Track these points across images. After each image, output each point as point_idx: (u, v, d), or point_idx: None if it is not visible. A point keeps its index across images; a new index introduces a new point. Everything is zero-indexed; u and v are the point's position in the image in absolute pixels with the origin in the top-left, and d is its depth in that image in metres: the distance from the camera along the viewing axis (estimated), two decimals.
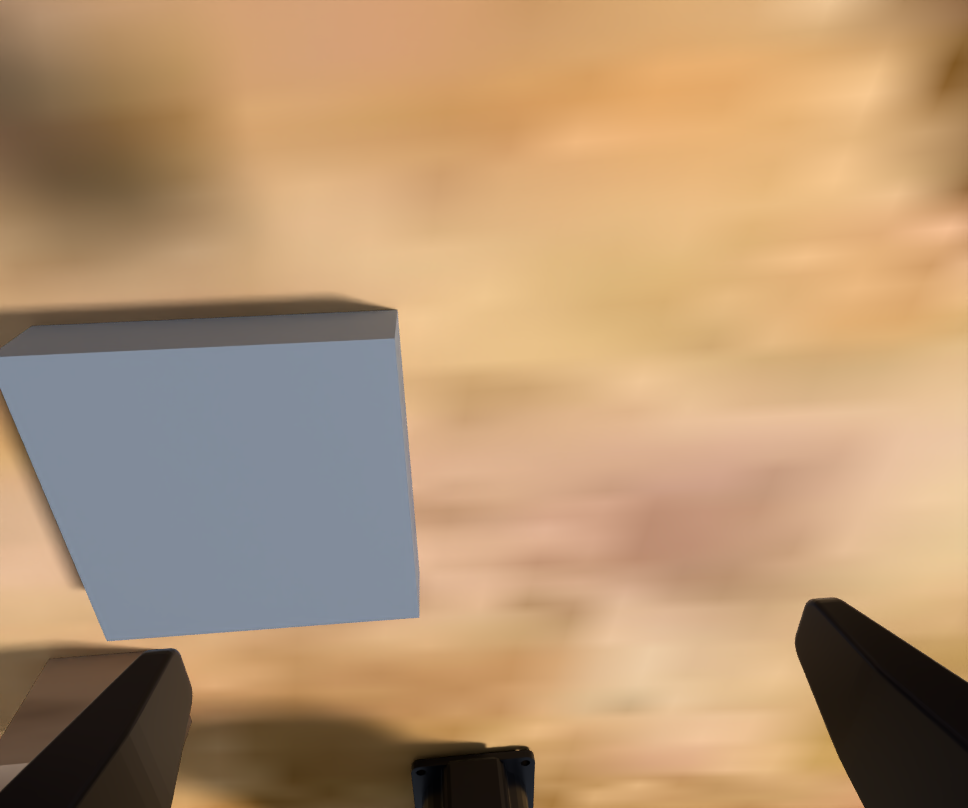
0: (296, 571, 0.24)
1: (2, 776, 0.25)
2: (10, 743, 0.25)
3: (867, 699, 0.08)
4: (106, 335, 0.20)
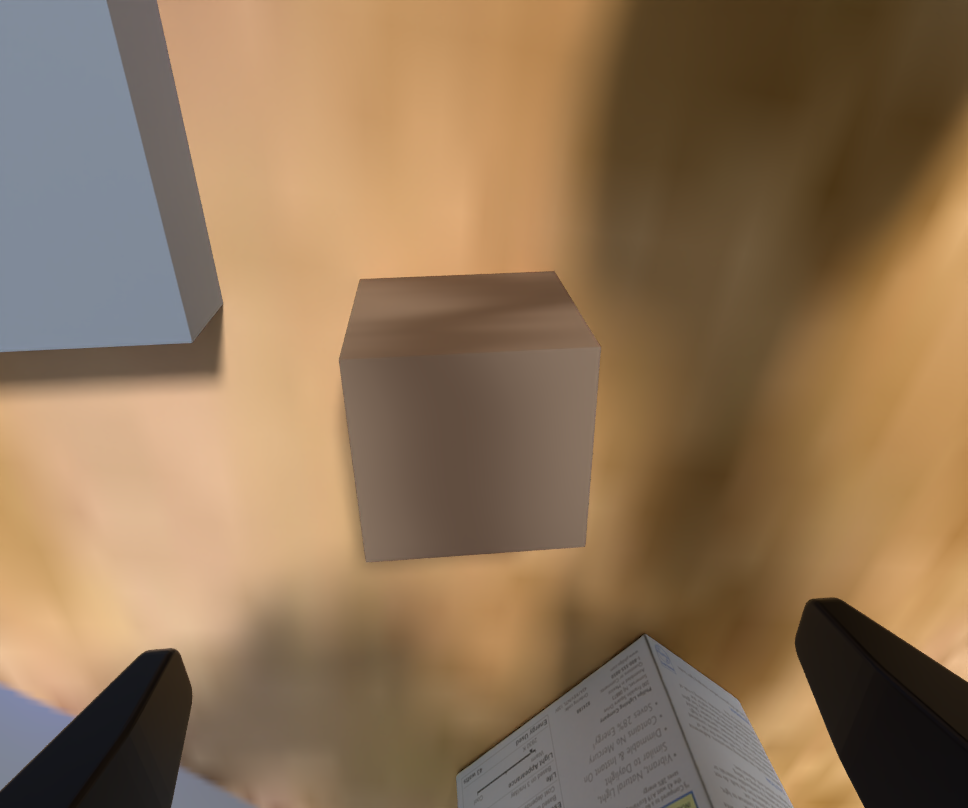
0: None
1: (394, 544, 0.14)
2: None
3: (867, 699, 0.08)
4: None
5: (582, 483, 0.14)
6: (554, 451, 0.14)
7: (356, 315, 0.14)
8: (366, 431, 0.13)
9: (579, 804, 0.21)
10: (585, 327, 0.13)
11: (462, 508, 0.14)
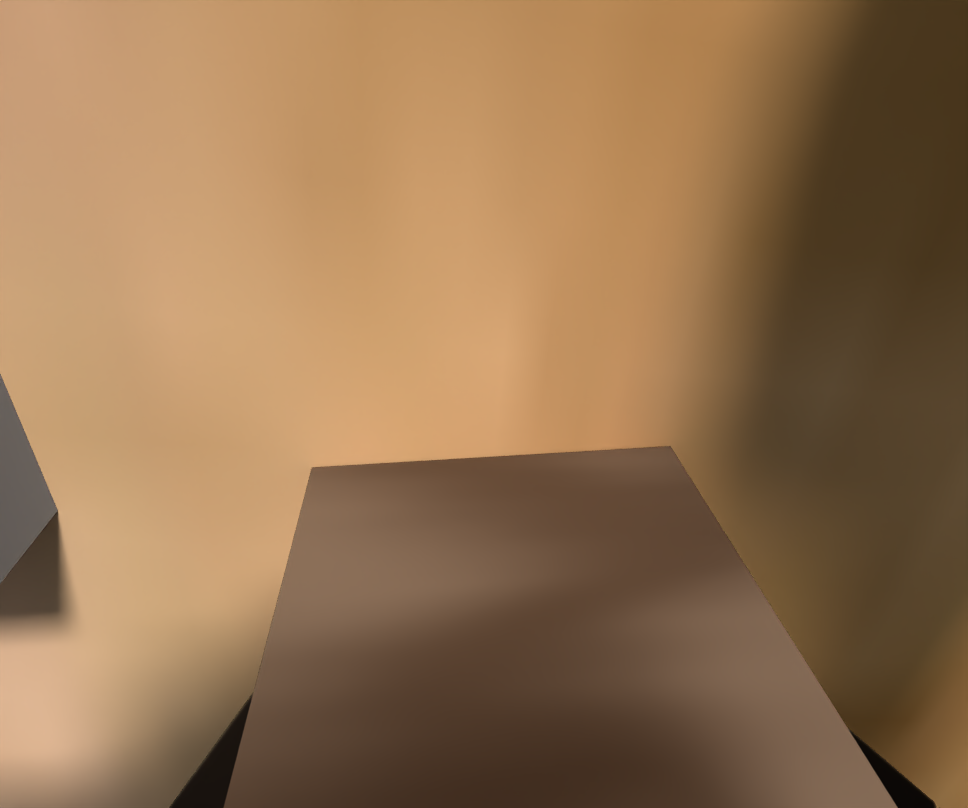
0: None
1: None
2: None
3: None
4: None
5: None
6: None
7: (285, 617, 0.06)
8: None
9: None
10: (816, 690, 0.06)
11: None
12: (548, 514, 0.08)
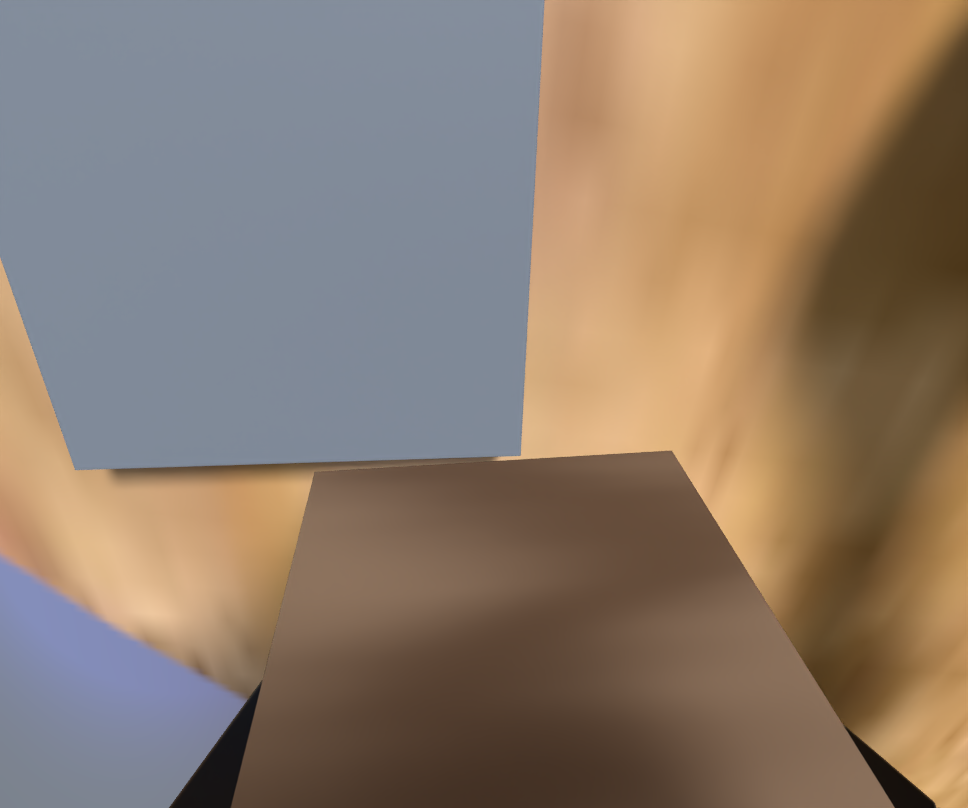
0: (407, 170, 0.14)
1: None
2: None
3: None
4: None
5: None
6: None
7: (290, 623, 0.07)
8: None
9: None
10: (816, 696, 0.06)
11: None
12: (550, 519, 0.08)
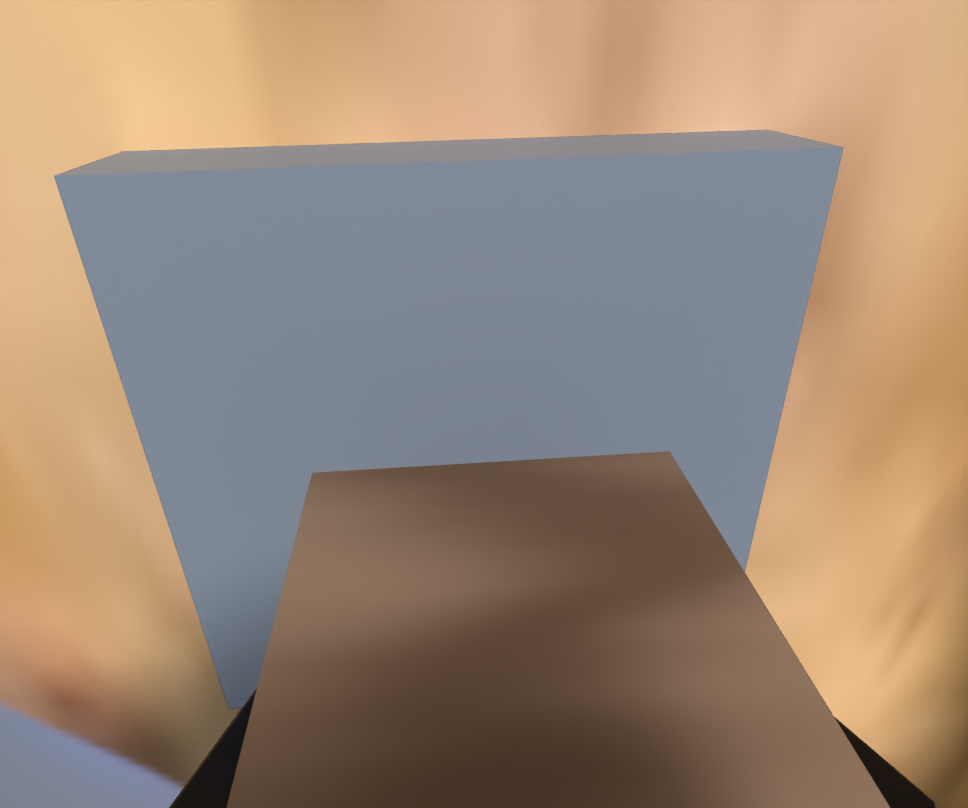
0: (639, 399, 0.12)
1: None
2: None
3: None
4: None
5: None
6: None
7: (285, 625, 0.06)
8: None
9: None
10: (813, 697, 0.06)
11: None
12: (548, 520, 0.08)
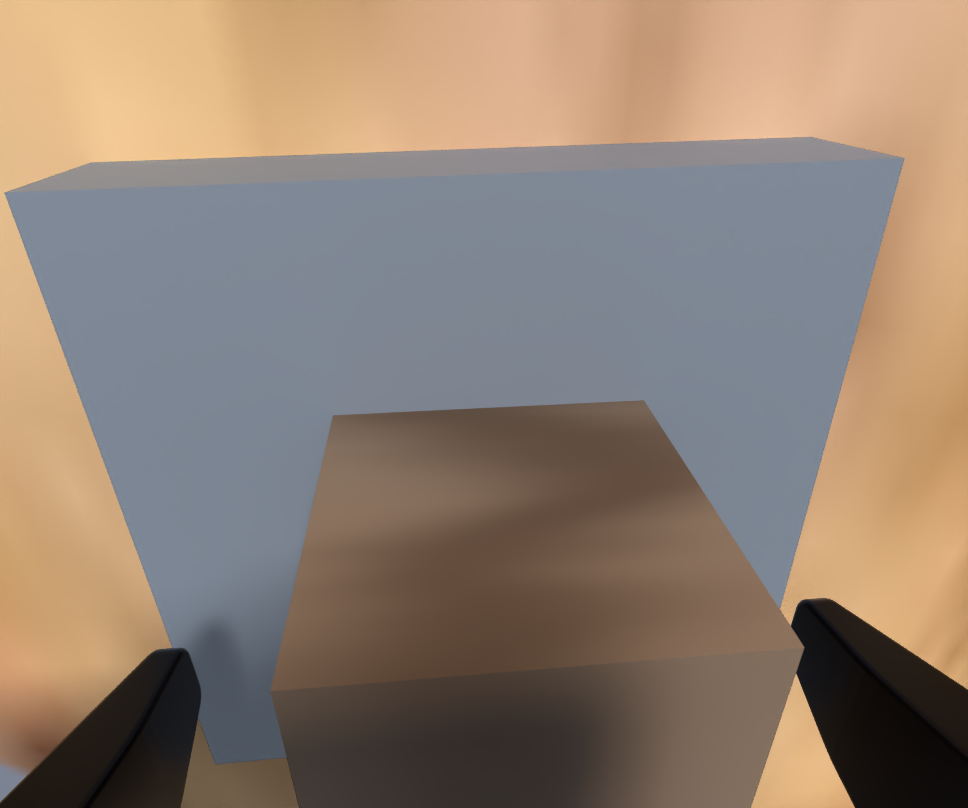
0: (668, 437, 0.11)
1: None
2: None
3: (858, 700, 0.08)
4: None
5: None
6: (684, 799, 0.07)
7: (318, 523, 0.08)
8: (332, 791, 0.07)
9: None
10: (749, 573, 0.07)
11: None
12: (537, 450, 0.09)
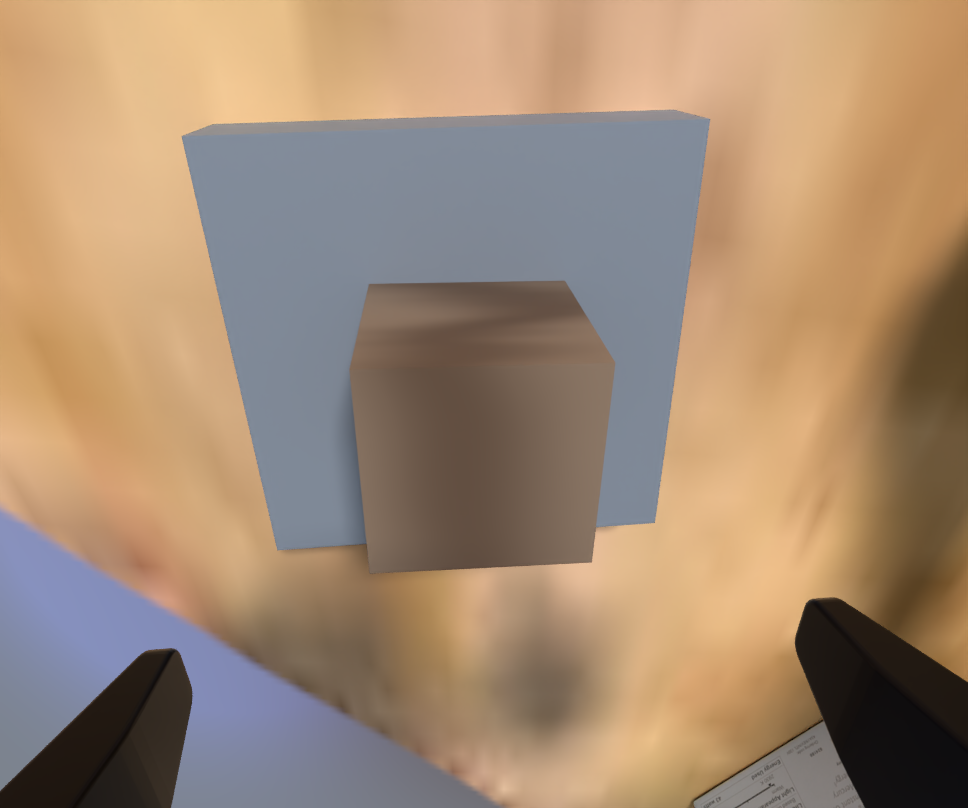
0: (579, 302, 0.17)
1: (399, 556, 0.14)
2: None
3: (867, 699, 0.08)
4: None
5: (591, 499, 0.14)
6: (563, 466, 0.13)
7: (366, 322, 0.14)
8: (375, 442, 0.13)
9: None
10: (599, 341, 0.13)
11: (469, 521, 0.14)
12: (493, 299, 0.15)
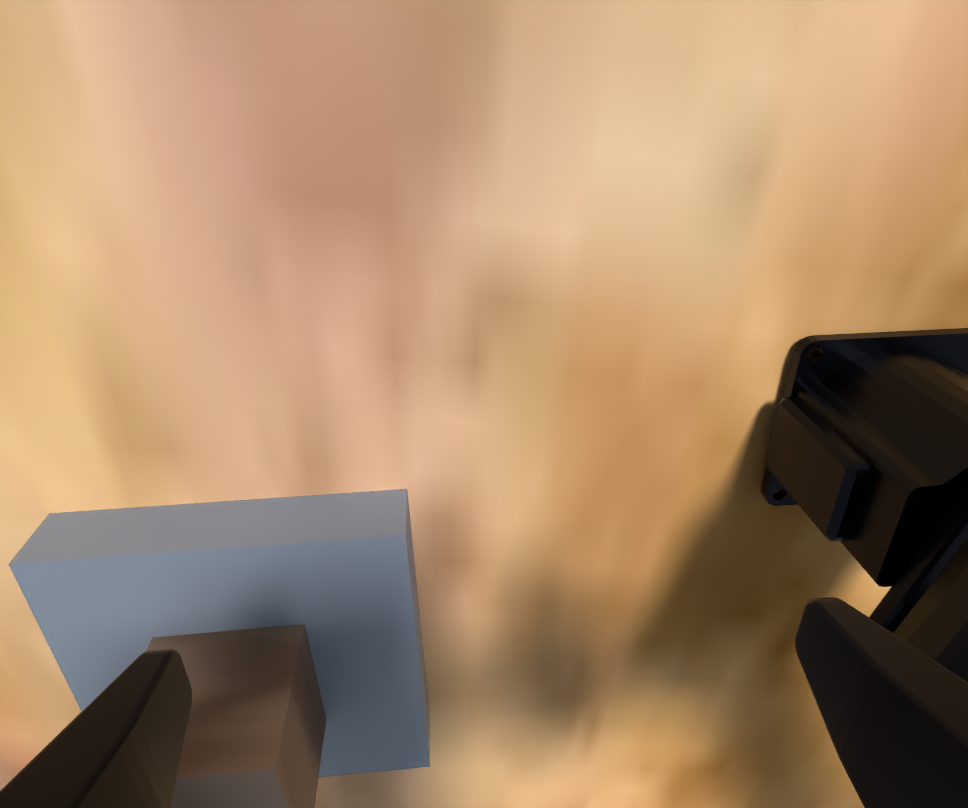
0: (332, 639, 0.22)
1: None
2: None
3: (867, 699, 0.08)
4: None
5: None
6: None
7: None
8: None
9: None
10: (280, 733, 0.18)
11: None
12: (234, 662, 0.21)
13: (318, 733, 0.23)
